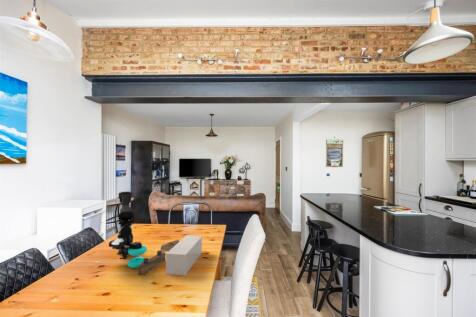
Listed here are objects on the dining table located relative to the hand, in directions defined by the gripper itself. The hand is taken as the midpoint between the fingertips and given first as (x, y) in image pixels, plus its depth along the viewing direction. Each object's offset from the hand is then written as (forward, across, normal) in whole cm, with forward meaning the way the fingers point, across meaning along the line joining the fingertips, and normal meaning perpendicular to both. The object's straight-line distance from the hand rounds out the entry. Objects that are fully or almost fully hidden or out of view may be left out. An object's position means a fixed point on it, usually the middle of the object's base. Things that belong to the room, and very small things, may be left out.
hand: (124, 259), depth 141 cm
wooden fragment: (+3, +8, +35) cm, 36 cm away
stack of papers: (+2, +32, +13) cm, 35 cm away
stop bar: (+2, +19, 0) cm, 19 cm away
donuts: (+2, +8, 0) cm, 9 cm away
